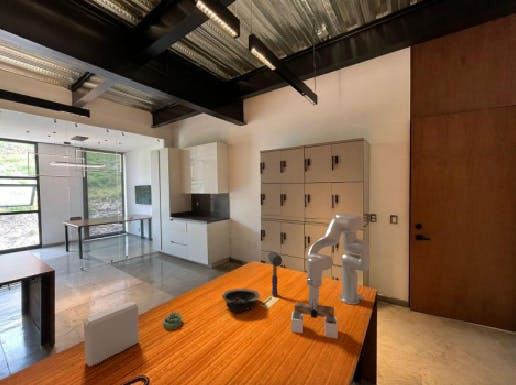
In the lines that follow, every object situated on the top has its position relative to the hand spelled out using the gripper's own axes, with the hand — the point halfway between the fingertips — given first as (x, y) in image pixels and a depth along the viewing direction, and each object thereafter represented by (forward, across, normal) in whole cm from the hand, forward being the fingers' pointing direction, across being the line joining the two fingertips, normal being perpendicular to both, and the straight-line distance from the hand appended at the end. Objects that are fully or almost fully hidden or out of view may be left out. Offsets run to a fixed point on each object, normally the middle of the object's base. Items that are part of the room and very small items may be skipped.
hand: (313, 314), depth 124 cm
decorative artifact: (+9, +11, -77) cm, 78 cm away
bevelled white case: (+9, +37, -92) cm, 99 cm away
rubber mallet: (+9, -34, -26) cm, 44 cm away
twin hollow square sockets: (+9, 0, 0) cm, 9 cm away
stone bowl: (+9, -16, -45) cm, 49 cm away
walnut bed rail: (+2, 0, 0) cm, 2 cm away
